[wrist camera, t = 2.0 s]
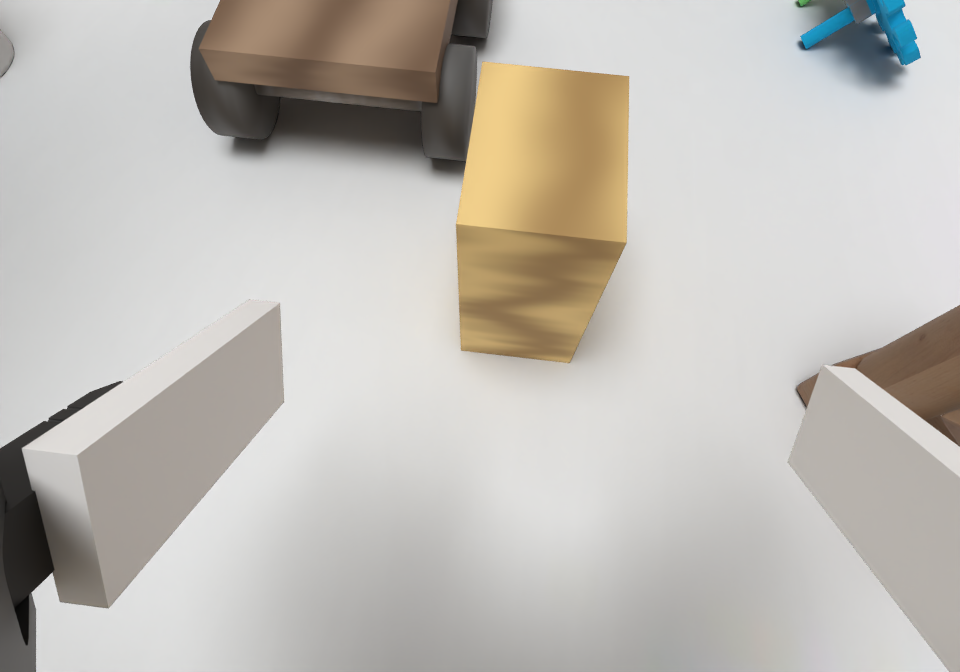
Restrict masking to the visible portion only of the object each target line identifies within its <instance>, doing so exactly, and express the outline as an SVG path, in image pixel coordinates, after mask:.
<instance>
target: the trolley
mask: <svg viewBox="0 0 960 672" xmlns="http://www.w3.org/2000/svg"><path fill="white" fill-rule="evenodd" d="M491 9H492V0H220V2H219V4H218V7H217V9H216V11H215V13H214V15H213V18H212V20H208V21H206V22H204V23H203V24H202V25H201V26H200V27H199V29H198V31H197V33H196V35H195V38H194V41H193V45H192V50H191V62H190V69H191V81H192V88H193V93H194V97H195V101H196V104H197V107H198V109H199V112H200V114H201V116H202V118H203V120H204V121H205V123H206V124H207V126H208V127H209V128H210V129H211V130H212V131H213V132H215V133H216V134H218V135H223V136H232V137H241V138H251V139H265V138H266V137H268V136H269V135H270V133H271V132H272V130H273V128H274V126H275V124H276V120H277V116H278V111H279V104H280V97H286V98H295V99H305V100H315V101H324V102H334V103H344V104H353V105H363V106H373V107H382V108H392V109H402V110H411V111H421V112H422V114H421V125H422V143H423V149H424V153H425V156H426V157H430V158H440V159H449V160H459V161H466V160H467V154H468V148H469V142H470V135H471V129H472V123H473V117H474V109H475V96H476V77H477V53H476V47H475V46H469V45H459V44H449V42H450V37H451V34H452V35H458V36H469V37H479V38H487V35H488V31H489V25H490V17H491Z"/></svg>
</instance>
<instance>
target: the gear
mask: <svg viewBox="0 0 960 672" xmlns="http://www.w3.org/2000/svg"><path fill="white" fill-rule="evenodd" d="M798 1H799V3H800V6H801V7H802V6H803V5H805V4H806V3H808V2H809V1H811V0H798ZM844 2H845V4H846V6H847V8H846V9H844V10H842V11H841V12H839V13H838V14H836V15H834V16H833V17H831V18H829V19H828V20H826V21H825V22H823V23H821V24H820V25H818V26H816V27H815V28H813V29H811V30H810V31H808V32H807V33H805V34H803V35H802V36H800V37H801V39H802V41H803V44H804V46H805V48H806V49H808V48H809V47H811V46H813V45H814V44H816V43H818V42H819V41H821V40H823V39H824V38H826V37H828V36H829V35H831V34H833V33H834V32H836V31H838V30H839V29H841V28H843V27H844V26H846V25H848V24H849V23H851V22H853V21H855V23H856V24H858V23H860V22H862V21H863V20H865V19H867V18H868V17H870V16H872V15H873V14H875V13H876V18H877V21H878V23H879V25H880V27H881V29H882V31H885V33H886V36H887V38H888V42H889V44H890V47H891V49H892V50H893V52H894V53H895V54H896V53H897V56H898V58H899V60H900V63H901V65H904V64H905V65H908V64H910V63H912V62H913V61H915V60H917V59H919V58H921V57H920V52H919V49H918V47H917V44H916V43H915V41H914V40H915V39H917V37H916V34H915V31H914V28H913V26H912V23H911V22H910V20H909V19H908V20H906V18H905V16H904V14H903V11H902V8H903V7H905V2H904V0H844Z"/></svg>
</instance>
